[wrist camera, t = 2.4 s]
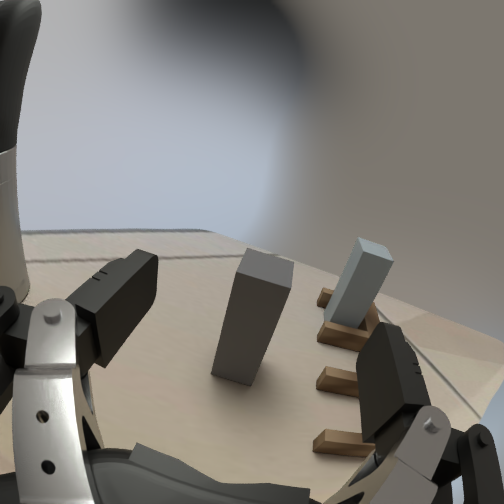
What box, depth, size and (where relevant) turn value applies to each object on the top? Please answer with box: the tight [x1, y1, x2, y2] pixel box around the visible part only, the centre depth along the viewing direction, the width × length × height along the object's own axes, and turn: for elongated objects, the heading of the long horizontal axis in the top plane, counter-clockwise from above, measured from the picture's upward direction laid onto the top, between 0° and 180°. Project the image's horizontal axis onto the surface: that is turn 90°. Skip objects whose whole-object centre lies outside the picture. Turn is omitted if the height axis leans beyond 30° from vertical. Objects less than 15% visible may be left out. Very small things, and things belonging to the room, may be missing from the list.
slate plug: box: [324, 237, 394, 329], centre depth 34 cm, size 4×4×12 cm
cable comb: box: [313, 288, 380, 457], centre depth 29 cm, size 8×24×2 cm, turn 169°
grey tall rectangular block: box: [211, 248, 294, 386], centre depth 24 cm, size 4×4×12 cm
